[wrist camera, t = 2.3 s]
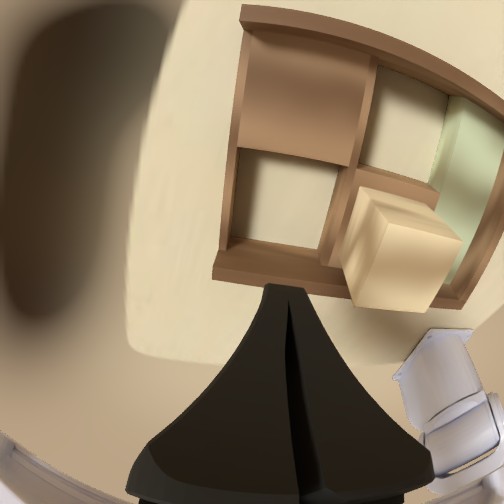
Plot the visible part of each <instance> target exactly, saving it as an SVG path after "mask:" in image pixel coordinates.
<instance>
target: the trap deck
mask: <svg viewBox="0 0 504 504" xmlns="http://www.w3.org/2000/svg"><path fill="white" fill-rule="evenodd" d="M239 21H240V23H241V25H242V27H243V29H244V32H243V38H242V44H241V51H240V58H239V65H238V72H237V79H236V86H235V94H234V102H233V110H232V118H231V126H230V135H229V144H228V153H227V162H226V172H225V182H224V192H223V203H222V214H221V226H220V238H219V250H218V253H217V256H216V259H215V262H214V264H213V271H212V280H218V281H225V282H231V283H237V284H244V285H250V286H257V287H263V288H264V285H265V284H267V283H273V284H280V285H287V286H294V287H302V288H304V289H305V291H306V293H307V294H313V295H321V296H329V297H337V298H345V299H352V298H351V295H350V291H349V288H348V285H347V281H346V278H345V275H344V271H343V268H342V265H341V262H340V259H339V256H338V255H339V252H340V249H341V246H342V243H343V240H344V237H345V234H346V231H347V228H348V224H349V221H350V218H351V215H352V211H353V208H354V205H355V201H356V198H357V194H358V191H359V187H360V186H362V187H366V188H370V189H374V190H378V191H382V192H386V193H390V194H394V195H397V196H401V197H404V198H408V199H411V200H415V201H418V202H422V203H425V204H426V205H427V206H428V207H429V208H430V209H432V210H433V211H434V212H435V213H436V214H437V215H438V216H439V217H440V218H441V219H442V220H443V221H444V222H445V223H446V224H447V225H448V226H449V227H450V228H451V229H452V230H453V231H454V232H455V233H456V234H457V235H458V236H459V238H460V239H461V240H462V241H463V244H462V246H461V248H460V251H459V253H458V255H457V257H456V259H455V261H454V263H453V265H452V267H451V269H450V271H449V272H448V274H447V276H446V278H445V280H444V282H443V284H442V285H441V287H440V289H439V291H438V292H437V294H436V296H435V297H434V299H433V301H432V302H431V304H430V306H429V307H432V308H443V309H456V310H461V309H462V307H463V306H464V304H465V303H466V301H467V300H468V298H469V296H470V295H471V293H472V291H473V290H474V288H475V286H476V285H477V283H478V281H479V279H480V278H481V276H482V274H483V272H484V270H485V268H486V267H487V265H488V263H489V261H490V259H491V257H492V255H493V253H494V251H495V249H496V247H497V244H498V242H499V240H500V238H501V236H502V233H503V231H504V100H503V99H502V98H500V97H499V96H498V95H496V94H495V93H494V92H492V91H491V90H489V89H488V88H487V87H485V86H484V85H482V84H481V83H479V82H478V81H476V80H475V79H473V78H472V77H470V76H469V75H467V74H465V73H464V72H462V71H460V70H459V69H457V68H455V67H454V66H452V65H450V64H448V63H447V62H445V61H443V60H441V59H439V58H437V57H435V56H433V55H431V54H429V53H427V52H425V51H423V50H421V49H419V48H417V47H415V46H413V45H410V44H408V43H406V42H403V41H401V40H399V39H396V38H394V37H391V36H389V35H386V34H383V33H381V32H378V31H375V30H372V29H369V28H366V27H363V26H360V25H357V24H353V23H350V22H346V21H343V20H339V19H335V18H331V17H327V16H323V15H318V14H314V13H309V12H303V11H298V10H292V9H285V8H278V7H269V6H260V5H247V4H242V7H241V13H240V19H239ZM378 65H381V66H384V67H386V68H389V69H392V70H394V71H397V72H400V73H402V74H405V75H407V76H409V77H412V78H414V79H416V80H419V81H421V82H423V83H425V84H427V85H429V86H432V87H434V88H436V89H438V90H440V91H442V92H444V93H445V94H447V95H449V100H448V105H447V111H446V116H445V120H444V125H443V129H442V134H441V138H440V142H439V146H438V150H437V153H436V157H435V161H434V164H433V168H432V171H431V174H430V178H429V181H428V184H427V183H424V182H421V181H418V180H415V179H412V178H409V177H406V176H403V175H399V174H396V173H393V172H389V171H386V170H382V169H379V168H375V167H371V166H368V165H364V164H360V163H358V160H359V156H360V152H361V148H362V143H363V139H364V135H365V130H366V125H367V121H368V116H369V111H370V106H371V101H372V96H373V90H374V85H375V79H376V73H377V66H378ZM240 147H244V148H251V149H258V150H265V151H271V152H278V153H284V154H289V155H295V156H300V157H306V158H311V159H316V160H321V161H325V162H330V163H335V164H339V165H340V166H339V170H338V175H337V179H336V183H335V187H334V191H333V195H332V198H331V202H330V206H329V210H328V214H327V217H326V221H325V225H324V228H323V232H322V235H321V239H320V242H319V246H318V249H317V250H315V249H309V248H303V247H297V246H290V245H284V244H278V243H271V242H265V241H258V240H252V239H245V238H239V237H232V236H230V235H231V225H232V216H233V206H234V197H235V189H236V180H237V171H238V163H239V155H240Z"/></svg>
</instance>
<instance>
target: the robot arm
mask: <svg viewBox="0 0 504 504" xmlns="http://www.w3.org/2000/svg"><path fill="white" fill-rule="evenodd" d="M472 334H473V330H472V329H430V330H429V331H428V332H427V333H426V334H425V336H424V337H423V339H422V340H421V341H420V343H419V344H418V345H417V347H416V348H415V349H414V351H413V352H412V353H411V355H410V356H409V357H408V358H407V360H406V361H405V362H404V363H403V365H402V366H401V367H400V368H399V369H398V371H397V372H396V373H395V374H394V375H393V377H392V379H393V380H398V381H399V385H400V389H401V393H402V397H403V401H404V405H405V410H406V414H407V418H408V420H409V422H410V423H411V424H412V425H413V427H414V428H416V429H417V430H420V431H424V432H423V433H421V435H420V437H419V439H418V441H417V440H416V439H414V438H413V437H412V436H411V435H409V434H408V433H407V432H406V431H405V430H403V429H402V428H401V427H400V426H399V425H398V424H397V423H396V422H395V421H394V420H393V419H392V418H391V417H390V416H389V415H388V414H387V413H386V412H385V411H384V410H383V409H382V408H381V407H380V406H379V405H378V404H377V402H376V401H375V400H374V399H373V398H372V397H371V396H370V395H369V394H368V392H367V391H366V390H365V389H364V387H363V386H362V385H361V384H360V383H359V381H358V380H357V379H356V377H355V376H354V375H353V373H352V372H351V370H350V369H349V368H348V366H347V365H346V363H345V362H344V360H343V359H342V357H341V356H340V354H339V352H338V351H337V349H336V348H335V346H334V344H333V343H332V341H331V339H330V337H329V336H328V334H327V332H326V330H325V328H324V327H323V325H322V323H321V321H320V319H319V317H318V315H317V313H316V311H315V309H314V307H313V305H312V303H311V301H310V299H309V297H308V295H307V293H306V291H305V289H304V288H302V287H294V286H287V285H280V284H273V283H267V284H265V285H264V290H263V295H262V300H261V303H260V306H259V308H258V311H257V313H256V315H255V317H254V319H253V321H252V323H251V325H250V327H249V329H248V331H247V332H246V334H245V336H244V337H243V339H242V341H241V342H240V344H239V346H238V347H237V349H236V350H235V352H234V353H233V355H232V356H231V358H230V359H229V360H228V362H227V363H226V364H225V366H224V367H223V368H222V370H221V371H220V372H219V374H218V375H217V376H216V377H215V378H214V380H213V381H212V382H211V383H210V384H209V386H208V387H207V388H206V389H205V390H204V391H203V392H202V393H201V395H200V396H199V397H198V398H197V399H196V400H195V401H194V402H193V403H192V404H191V405H190V406H189V407H188V408H187V409H186V410H185V411H184V412H183V413H182V414H181V415H180V416H179V417H177V418H176V419H175V420H174V421H173V422H172V423H171V424H169V425H168V426H167V427H166V428H165V429H163V430H162V431H161V432H160V433H159V434H157V435H156V436H155V437H154V438H152V439H151V440H150V441H149V442H148V443H147V445H146V446H145V447H144V449H143V450H142V452H141V453H140V454H139V456H138V457H137V459H136V461H135V462H134V464H133V466H132V469H131V471H130V474H129V478H128V481H127V485H126V489H125V491H126V492H127V493H128V494H130V495H133V496H135V497H138V498H140V499H139V504H403V503H404V493H407V492H410V491H412V490H415V489H418V488H420V487H423V486H425V485H426V486H427V488H428V490H429V491H430V492H433V493H436V494H440V495H443V496H441V497H439V498H436V499H433V500H431V501H428V502H425V503H422V504H504V410H503V407H502V405H501V402H500V399H499V397H498V394H497V393H493V392H490V393H489V394H488V396H487V394H486V393H485V391H484V389H483V386H482V384H481V381H480V379H479V377H478V374H477V372H476V369H475V367H474V364H473V362H472V360H471V358H470V356H469V353H468V351H467V349H466V347H465V343H466V342H467V341H468V340H469V338H470V337H471V336H472ZM498 445H499V446H498ZM497 446H498V448H497V449H496V451H494V452H493V453H492V454H490V455H489V456H487V457H485V458H484V459H482V460H480V461H478V462H476V463H474V464H472V465H470V466H468V467H466V468H465V469H462V470H460V471H458V472H456V473H452V474H448V472H450V471H452V470H454V469H456V468H458V467H460V466H462V465H464V464H466V463H468V462H470V461H472V460H474V459H476V458H478V457H480V456H481V455H483V454H485V453H487V452H488V451H490V450H492V449H493V448H495V447H497ZM0 504H133V503H130V502H127V501H125V500H122V499H119V498H116V497H114V496H112V495H109V494H107V493H104V492H102V491H100V490H97V489H95V488H93V487H91V486H89V485H86V484H84V483H82V482H80V481H78V480H76V479H74V478H72V477H70V476H69V475H67V474H65V473H63V472H61V471H59V470H57V469H56V468H54V467H52V466H51V465H49V464H47V463H46V462H44V461H42V460H41V459H39V458H38V457H37V456H36V455H35V454H33V453H32V452H30V451H29V450H27V449H26V448H24V447H23V446H22V445H20V444H19V443H18V442H16V441H15V440H13V439H12V438H10V437H9V436H8V435H6V434H4V433H3V432H2V431H1V430H0Z"/></svg>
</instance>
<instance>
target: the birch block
mask: <svg viewBox="0 0 504 504" xmlns="http://www.w3.org/2000/svg"><path fill="white" fill-rule="evenodd" d="M462 244H463V241H462V240H461V239H460V238H459V236H458V235H457V234H456V233H455V232H454V231H453V230H452V229H451V228H450V227H449V226H448V225H447V224H446V223H445V222H444V221H443V220H442V219H441V218H440V217H439V216H438V215H437V214H436V213H435V212H434V211H433V210H432V209H430V208H429V207H428V206H427V205H426V204H425V203H422V202H418V201H415V200H411V199H408V198H404V197H401V196H397V195H394V194H390V193H386V192H382V191H378V190H374V189H370V188H366V187H362V186H360V187H359V191H358V194H357V198H356V201H355V205H354V208H353V211H352V215H351V218H350V221H349V224H348V228H347V231H346V234H345V237H344V240H343V243H342V246H341V249H340V252H339V255H338V256H339V259H340V262H341V265H342V268H343V271H344V275H345V278H346V281H347V285H348V288H349V291H350V295H351V298H352V302H353V305H354V306H355V307H365V308H375V309H385V310H396V311H407V312H419V313H425V312H426V311H427V309H428V307H429V306H430V304H431V302H432V301H433V299H434V297H435V296H436V294H437V292H438V291H439V289H440V287H441V285H442V284H443V282H444V280H445V278H446V276H447V274H448V272H449V271H450V269H451V267H452V265H453V263H454V261H455V259H456V257H457V255H458V253H459V251H460V248H461V246H462Z"/></svg>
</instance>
